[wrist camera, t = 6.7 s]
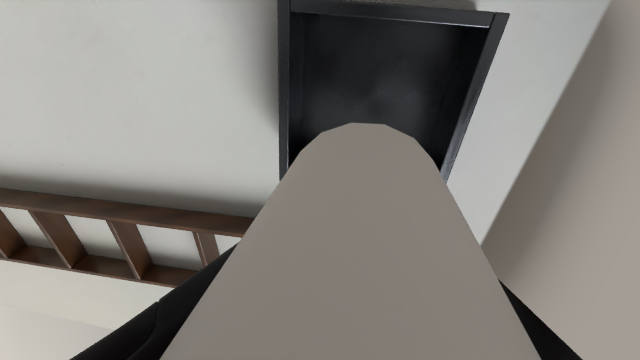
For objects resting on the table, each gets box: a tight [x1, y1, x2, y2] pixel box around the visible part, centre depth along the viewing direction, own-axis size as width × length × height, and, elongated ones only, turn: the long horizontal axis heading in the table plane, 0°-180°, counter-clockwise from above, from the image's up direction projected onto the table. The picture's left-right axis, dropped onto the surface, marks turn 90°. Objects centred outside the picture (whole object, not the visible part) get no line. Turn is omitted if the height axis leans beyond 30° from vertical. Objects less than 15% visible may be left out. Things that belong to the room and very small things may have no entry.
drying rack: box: [0, 188, 255, 288], centre depth 28 cm, size 54×9×2 cm, turn 90°
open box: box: [278, 0, 510, 183], centre depth 16 cm, size 10×10×4 cm
